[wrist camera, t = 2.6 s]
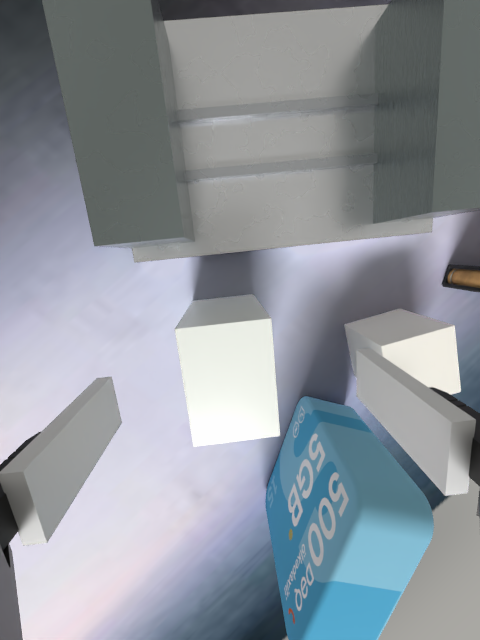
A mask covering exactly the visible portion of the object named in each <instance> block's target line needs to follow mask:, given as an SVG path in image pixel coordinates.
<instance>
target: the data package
mask: <svg viewBox="0 0 480 640" xmlns="http://www.w3.org/2000/svg"><path fill="white" fill-rule="evenodd" d="M266 511H267V517H268V523H269V529H270V535H271V541H272V547H273V553H274V559H275V565H276V571H277V577H278V583H279V589H280V595H281V601H282V607H283V613H284V619H285V625H286V631H287V635H288V639H289V640H378V638H379V636H380V635H381V633H382V631H383V629H384V627H385V625H386V623H387V621H388V620H389V618H390V616H391V614H392V612H393V610H394V608H395V607H396V605H397V603H398V601H399V599H400V597H401V595H402V593H403V592H404V590H405V588H406V586H407V584H408V582H409V580H410V578H411V577H412V575H413V573H414V571H415V569H416V567H417V565H418V564H419V562H420V560H421V558H422V556H423V554H424V552H425V551H426V549H427V547H428V545H429V543H430V541H431V539H432V535H433V528H434V524H433V515H432V511H431V507H430V505H429V502H428V500H427V498H426V497H425V495H424V494H423V492H422V491H421V490H420V489H419V487H418V486H417V485H416V484H415V483H414V481H413V480H412V479H411V478H410V477H409V475H408V474H407V473H406V472H405V471H404V469H403V468H402V467H401V466H400V465H399V463H398V462H397V461H396V460H395V459H394V457H393V456H392V455H391V454H390V453H389V451H388V450H387V449H386V448H385V447H384V445H383V444H382V443H381V442H380V441H379V439H378V438H377V437H376V436H375V435H374V433H373V432H372V431H371V430H370V429H369V427H368V426H367V425H366V424H365V423H364V421H363V420H362V419H361V418H360V417H359V415H358V414H357V413H356V412H355V411H354V409H353V408H351V407H349V406H345V405H341V404H337V403H333V402H329V401H324V400H320V399H316V398H312V397H308V396H304V397H302V398H301V399H300V400H299V402H298V404H297V406H296V409H295V412H294V414H293V417H292V420H291V423H290V425H289V428H288V431H287V434H286V437H285V439H284V442H283V445H282V448H281V450H280V453H279V456H278V459H277V461H276V464H275V467H274V470H273V472H272V475H271V478H270V481H269V483H268V487H267V491H266Z"/></svg>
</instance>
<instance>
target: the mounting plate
mask: <svg viewBox="0 0 480 640" xmlns="http://www.w3.org/2000/svg"><path fill="white" fill-rule="evenodd" d="M42 3H43V8H44V12H45V17H46V22H47V26H48V31H49V36H50V40H51V45H52V50H53V54H54V59H55V64H56V68H57V73H58V78H59V83H60V87H61V92H62V97H63V101H64V106H65V111H66V115H67V120H68V125H69V129H70V134H71V139H72V143H73V148H74V153H75V157H76V162H77V167H78V171H79V176H80V181H81V185H82V190H83V195H84V199H85V204H86V209H87V213H88V218H89V223H90V227H91V232H92V237H93V242H94V246H100V247H118V248H132V252H133V257H134V262H145V261H154V260H164V259H174V258H184V257H194V256H203V255H213V254H223V253H233V252H242V251H252V250H262V249H272V248H281V247H291V246H301V245H311V244H320V243H330V242H340V241H350V240H360V239H369V238H379V237H389V236H399V235H408V234H418V233H428V232H432V223H433V218H435V217H441V216H447V215H453V214H459V213H465V212H471V211H477V210H480V0H391V2H390V3H389V4H386V5H372V6H359V7H345V8H332V9H318V10H305V11H292V12H278V13H265V14H251V15H238V16H224V17H211V18H197V19H184V20H170V21H164V20H163V16H162V13H161V9H160V5H159V1H158V0H42Z"/></svg>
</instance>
